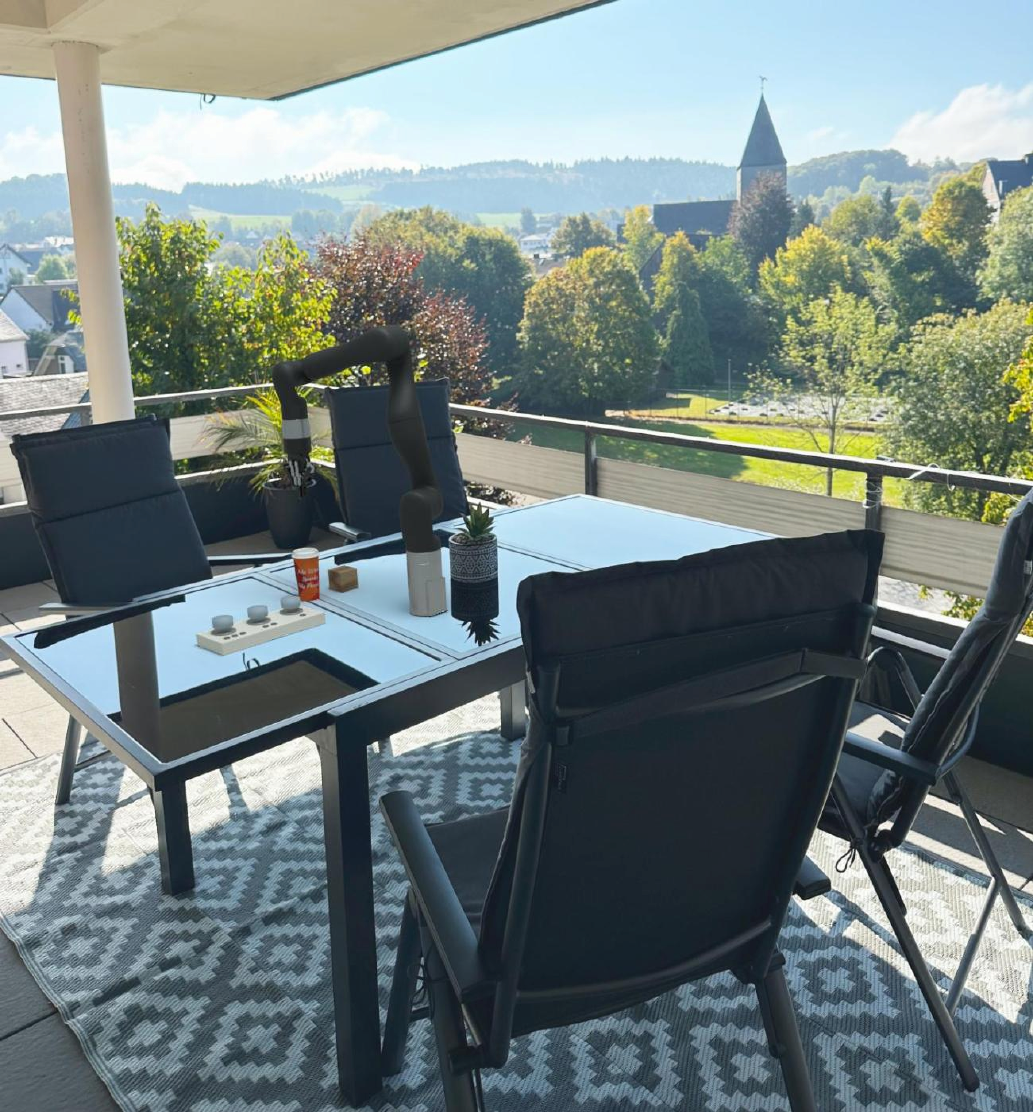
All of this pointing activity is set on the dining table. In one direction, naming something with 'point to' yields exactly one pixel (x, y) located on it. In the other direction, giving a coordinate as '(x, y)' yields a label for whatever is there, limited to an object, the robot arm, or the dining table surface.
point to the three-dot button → (222, 622)
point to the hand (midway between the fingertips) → (302, 498)
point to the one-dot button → (290, 602)
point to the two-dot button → (257, 611)
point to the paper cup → (307, 573)
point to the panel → (259, 629)
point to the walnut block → (343, 579)
